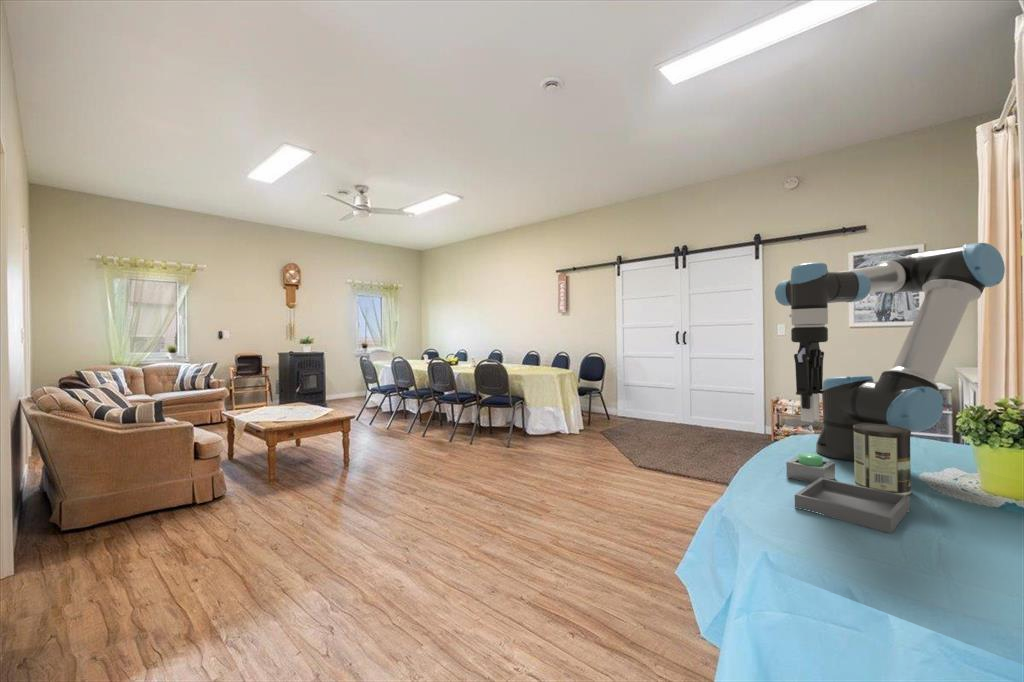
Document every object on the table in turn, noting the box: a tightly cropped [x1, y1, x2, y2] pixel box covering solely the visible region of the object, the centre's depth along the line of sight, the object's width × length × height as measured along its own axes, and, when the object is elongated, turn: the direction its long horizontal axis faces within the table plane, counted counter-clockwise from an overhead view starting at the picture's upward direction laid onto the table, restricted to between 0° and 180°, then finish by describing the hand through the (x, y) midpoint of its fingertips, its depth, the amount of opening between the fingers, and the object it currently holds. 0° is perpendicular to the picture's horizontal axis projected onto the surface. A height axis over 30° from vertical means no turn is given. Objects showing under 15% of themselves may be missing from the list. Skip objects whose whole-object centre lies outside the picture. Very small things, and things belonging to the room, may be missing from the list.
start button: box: [798, 452, 824, 467], centre depth 110 cm, size 5×5×4 cm
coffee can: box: [853, 424, 912, 496], centre depth 102 cm, size 10×10×14 cm
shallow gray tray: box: [794, 478, 911, 534], centre depth 91 cm, size 16×16×3 cm
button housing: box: [785, 455, 836, 484], centre depth 110 cm, size 8×8×4 cm
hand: (810, 420), depth 109 cm, fingers open, 3 cm apart
